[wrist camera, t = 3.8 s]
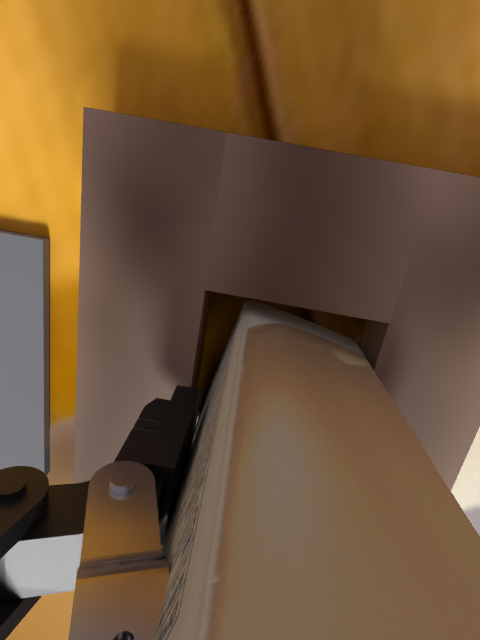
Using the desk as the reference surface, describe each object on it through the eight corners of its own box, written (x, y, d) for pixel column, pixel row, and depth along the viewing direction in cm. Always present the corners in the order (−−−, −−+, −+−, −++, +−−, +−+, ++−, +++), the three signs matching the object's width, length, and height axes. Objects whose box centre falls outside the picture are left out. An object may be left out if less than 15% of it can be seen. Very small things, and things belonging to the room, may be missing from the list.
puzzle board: (531, 194, 12) (583, 195, 10) (380, 567, 17) (394, 615, 15) (113, 120, 12) (83, 106, 10) (93, 514, 17) (72, 555, 15)
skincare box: (291, 468, 16) (363, 1274, 4) (190, 432, 15) (-40, 1184, 4) (363, 331, 13) (954, 1199, 2) (248, 287, 13) (123, 985, 2)
